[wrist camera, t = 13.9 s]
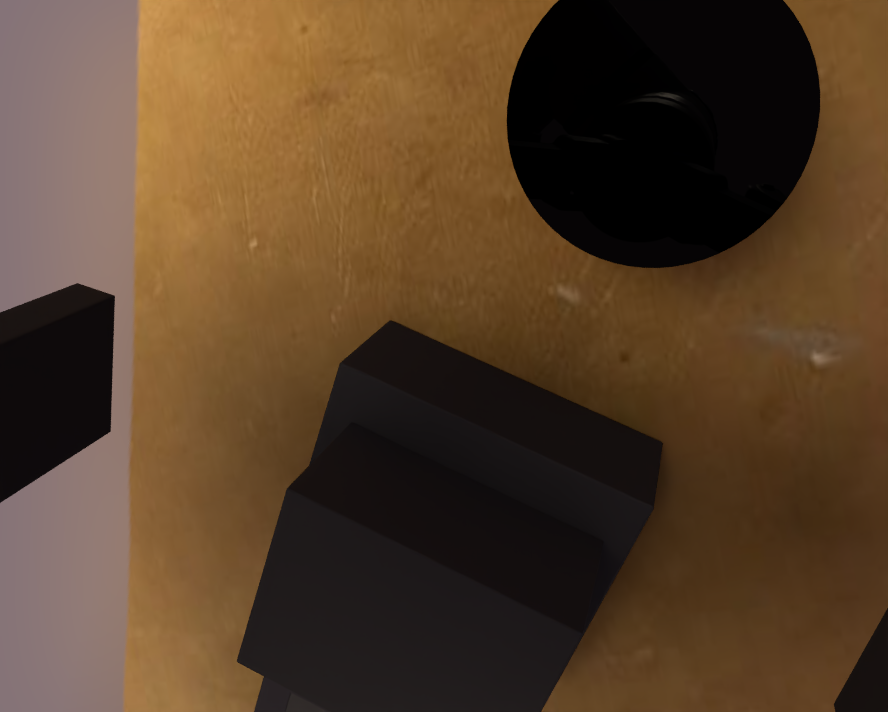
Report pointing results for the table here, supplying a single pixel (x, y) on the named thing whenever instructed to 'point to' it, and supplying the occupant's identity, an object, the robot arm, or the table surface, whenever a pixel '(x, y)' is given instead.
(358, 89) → the table surface
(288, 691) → the picture frame
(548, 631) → the top pad
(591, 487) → the dark rectangular box
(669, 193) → the supplement container
